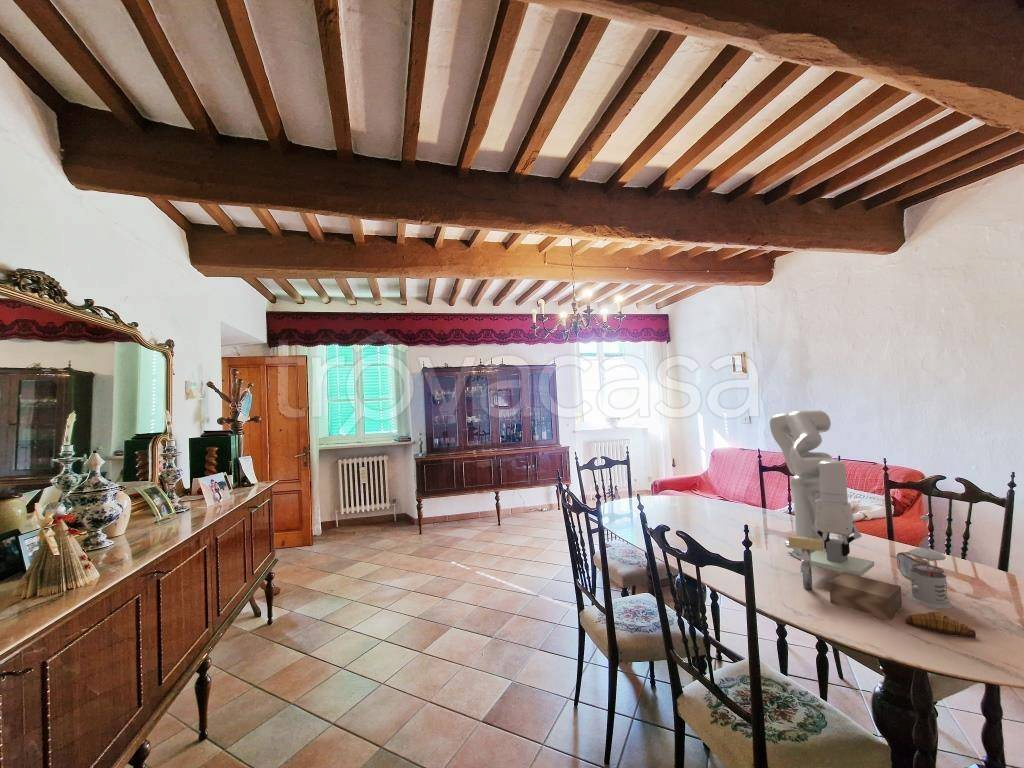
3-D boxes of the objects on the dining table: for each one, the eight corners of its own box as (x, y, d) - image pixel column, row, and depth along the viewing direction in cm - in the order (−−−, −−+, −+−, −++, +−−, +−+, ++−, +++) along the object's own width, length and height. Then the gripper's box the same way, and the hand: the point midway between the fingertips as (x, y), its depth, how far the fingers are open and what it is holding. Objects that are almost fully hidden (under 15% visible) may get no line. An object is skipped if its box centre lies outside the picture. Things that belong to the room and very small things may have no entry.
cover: (802, 563, 150) (800, 540, 150) (818, 554, 158) (816, 532, 159) (860, 576, 137) (858, 552, 138) (874, 566, 146) (872, 542, 146)
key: (791, 583, 147) (789, 534, 147) (825, 589, 141) (822, 539, 142) (788, 594, 138) (786, 543, 139) (823, 601, 133) (821, 548, 133)
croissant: (906, 630, 117) (905, 610, 117) (903, 619, 122) (902, 600, 123) (980, 645, 109) (978, 624, 109) (973, 633, 115) (971, 613, 115)
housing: (830, 602, 133) (829, 582, 133) (844, 591, 140) (843, 572, 140) (890, 620, 121) (889, 597, 122) (902, 607, 129) (900, 586, 129)
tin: (938, 591, 138) (936, 564, 139) (926, 591, 139) (924, 563, 139) (905, 573, 153) (904, 548, 153) (895, 572, 154) (893, 548, 154)
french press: (903, 600, 133) (898, 515, 134) (913, 589, 140) (908, 509, 141) (949, 611, 125) (943, 522, 126) (957, 599, 132) (951, 515, 133)
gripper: (801, 496, 153) (804, 550, 152) (860, 503, 140) (864, 562, 139) (809, 493, 158) (812, 545, 157) (868, 500, 145) (871, 557, 144)
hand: (837, 553), depth 148 cm, fingers closed on cover, 4 cm apart
